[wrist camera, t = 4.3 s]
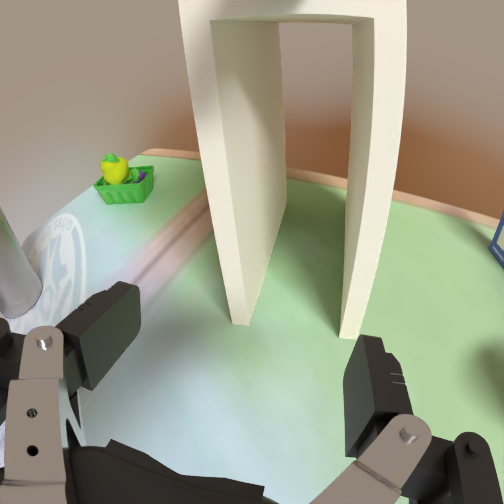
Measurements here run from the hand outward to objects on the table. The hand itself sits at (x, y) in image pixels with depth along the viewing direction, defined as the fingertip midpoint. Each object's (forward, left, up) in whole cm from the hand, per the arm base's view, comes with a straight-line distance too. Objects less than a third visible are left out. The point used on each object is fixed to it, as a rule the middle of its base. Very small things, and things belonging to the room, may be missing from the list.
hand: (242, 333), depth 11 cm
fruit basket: (-52, +15, -20) cm, 58 cm away
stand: (-14, +23, -20) cm, 34 cm away
